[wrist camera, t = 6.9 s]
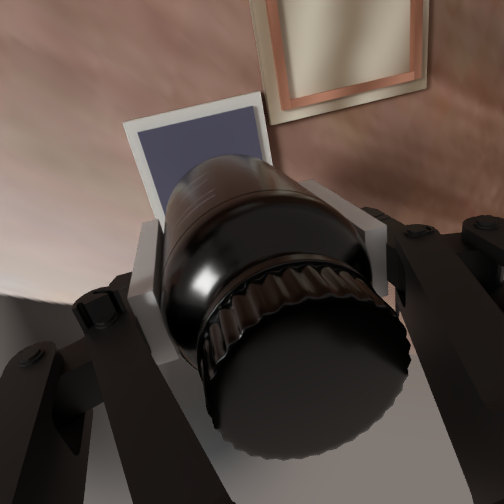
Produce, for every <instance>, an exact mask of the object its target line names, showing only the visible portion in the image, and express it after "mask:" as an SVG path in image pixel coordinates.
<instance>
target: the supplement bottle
mask: <svg viewBox="0 0 504 504" xmlns="http://www.w3.org/2000/svg"><path fill="white" fill-rule="evenodd" d="M160 298H161V311H162V318H163V322H164V326H165V329H166V331H167V334H168V336H169V338H170V340H171V342H172V344H173V345H174V347H175V348H176V350H177V351H178V353H179V354H180V355H181V356H182V357H183V359H184V360H185V361H186V362H187V363H188V364H190V365H191V366H192V367H193V368H194V369H195V370H197V371H198V372H199V374H200V377H201V380H202V382H203V386H204V394H205V403H206V409H207V412H208V414H209V415H210V417H211V418H212V423H213V426H214V428H215V429H216V430H217V431H219V432H220V433H221V435H222V437H223V440H224V441H226V442H229V443H232V444H233V446H234V448H235V449H236V450H239V451H245V452H246V453H247V454H248V455H250V456H260V457H262V458H264V459H266V460H268V459H279V460H289V459H292V458H296V459H303V458H306V457H308V456H312V455H320V454H322V453H324V452H326V451H328V450H333V449H337V448H338V447H340V446H341V445H343V444H344V443H347V442H350V441H353V440H354V439H355V438H356V437H357V436H358V435H359V434H361V433H363V432H365V431H367V430H368V429H369V428H370V427H371V426H372V425H373V423H375V422H376V421H378V420H380V419H381V418H382V417H383V415H384V413H385V411H386V410H388V409H389V408H390V407H391V406H392V405H393V404H394V401H395V398H396V397H397V396H398V395H399V393H400V392H401V391H402V387H403V383H404V381H405V380H406V378H407V377H408V369H407V368H408V366H409V364H410V362H411V358H410V355H409V350H410V346H411V344H410V342H409V341H408V339H407V338H406V335H407V330H406V328H405V327H404V325H403V324H402V323H401V322H400V321H399V317H398V315H397V313H396V312H395V311H394V310H393V309H392V308H391V307H390V306H389V305H388V304H387V303H386V302H385V301H384V300H383V299H382V298H381V297H380V296H379V295H378V294H377V293H376V291H375V290H374V288H373V273H372V266H371V261H370V257H369V253H368V251H367V248H366V245H365V243H364V241H363V240H362V238H361V236H360V234H359V233H358V231H357V230H356V228H355V227H354V226H353V225H352V224H351V223H350V221H349V220H348V219H346V218H345V217H344V216H343V215H342V214H341V213H340V212H339V211H337V210H336V209H335V208H334V207H332V206H331V205H329V204H328V203H326V202H325V201H324V200H322V199H321V198H319V197H318V196H316V195H315V194H313V193H312V192H310V191H309V190H307V189H306V188H305V187H303V186H302V185H300V184H299V183H297V182H296V181H294V180H293V179H291V178H290V177H288V176H287V175H285V174H284V173H282V172H281V171H280V170H278V169H277V168H275V167H274V166H272V165H270V164H269V163H267V162H265V161H263V160H261V159H258V158H255V157H252V156H248V155H243V154H225V155H219V156H215V157H212V158H209V159H207V160H204V161H202V162H201V163H199V164H197V165H196V166H194V167H193V168H191V169H190V170H189V171H188V172H187V173H186V174H185V175H184V176H183V177H182V178H181V179H180V180H179V182H178V183H177V184H176V186H175V188H174V189H173V191H172V194H171V196H170V198H169V201H168V204H167V209H166V215H165V225H164V241H163V256H162V272H161V295H160Z"/></svg>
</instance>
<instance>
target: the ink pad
mask: <svg viewBox="0 0 504 504" xmlns="http://www.w3.org/2000/svg"><path fill="white" fill-rule="evenodd" d="M123 126H124V129H125V132H126V135H127V138H128V141H129V144H130V146H131V149H132V152H133V155H134V158H135V161H136V164H137V167H138V169H139V172H140V175H141V178H142V181H143V184H144V187H145V190H146V193H147V195H148V198H149V201H150V204H151V207H152V210H153V213H154V216H155V218H156V219H159V221H160V224H161V227H162V230H163V233H164V225H165V215H166V209H167V204H168V201H169V198H170V196H171V194H172V191H173V189H174V188H175V186H176V184H177V183H178V182H179V180H180V179H181V178H182V177H183V176H184V175H185V174H186V173H187V172H188V171H189V170H190V169H191V168H193V167H194V166H196V165H197V164H199V163H201V162H202V161H204V160H207V159H209V158H212V157H215V156H219V155H225V154H243V155H248V156H252V157H255V158H258V159H261V160H263V161H265V162H267V163H269V164H270V165H272V166H273V164H272V158H271V152H270V146H269V140H268V134H267V128H266V122H265V116H264V110H263V105H262V99H261V93H260V91H257V92H252V93H248V94H243V95H239V96H235V97H230V98H226V99H221V100H217V101H213V102H208V103H204V104H199V105H195V106H191V107H186V108H182V109H177V110H173V111H169V112H164V113H160V114H155V115H151V116H147V117H142V118H138V119H133V120H129V121H125V122H123Z"/></svg>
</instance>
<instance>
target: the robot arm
mask: <svg viewBox="0 0 504 504" xmlns="http://www.w3.org/2000/svg"><path fill="white" fill-rule="evenodd" d="M298 183H299V184H300V185H302V186H303V187H305V188H306V189H307V190H309V191H310V192H312V193H313V194H315V195H316V196H318V197H319V198H321V199H322V200H324V201H325V202H326V203H328V204H329V205H331V206H332V207H334V208H335V209H336V210H337V211H339V212H340V213H341V214H342V215H343V216H344V217H345V218H346V219H348V220H349V221H350V223H351V224H352V225H353V226H354V227H355V228H356V230H357V231H358V233H359V234H360V236H361V238H362V240H363V241H364V243H365V245H366V248H367V251H368V253H369V257H370V261H371V266H372V273H373V288H374V290H375V291H376V293H377V294H378V295H379V296H380V297H384V296H387V295H388V281H389V282H390V283H391V284H393V285H394V286H395V302H396V313H397V315H398V316H399V312H400V311H401V314H402V317H403V319H404V322H405V324H406V327H407V329H408V332H409V335H410V337H411V340H412V342H413V345H414V347H415V350H416V353H417V355H418V357H419V360H420V363H421V365H422V368H423V370H424V373H425V376H426V378H427V381H428V383H429V386H430V389H431V391H432V394H433V396H434V399H435V401H436V404H437V407H438V409H439V412H440V414H441V417H442V419H443V422H444V424H445V427H446V430H447V432H448V435H449V437H450V440H451V442H452V445H453V448H454V450H455V453H456V455H457V458H458V460H459V463H460V466H461V468H462V471H463V473H464V476H465V478H466V481H467V484H468V486H469V489H470V492H471V495H472V498H473V502H474V504H504V280H503V279H504V219H503V218H499V217H493V216H491V215H486V216H485V215H480V216H477V217H471V218H468V219H466V220H465V221H464V222H463V225H462V233H453V234H444V235H441V234H440V233H439V231H438V230H437V229H435V228H434V227H431V226H428V225H421V224H412V225H406V226H405V225H404V224H402V223H400V222H398V221H397V220H395V219H393V218H391V217H390V216H388V215H385V214H384V213H383V212H381V211H379V210H377V209H373V208H369V207H364V208H358V207H356V206H355V205H353V204H352V203H350V202H348V201H347V200H345V199H344V198H342V197H340V196H339V195H337V194H336V193H334V192H332V191H331V190H329V189H327V188H326V187H324V186H323V185H321V184H319V183H318V182H316V181H315V180H313V179H310V180H306V181H302V182H298ZM163 241H164V233H163V230H162V227H161V224H160V221H159V219H156V220H152V221H148V222H144V223H142V227H141V232H140V237H139V242H138V247H137V252H136V257H135V262H134V267H133V272H129V273H126V274H122V275H118V276H116V278H115V279H114V280H113V281H112V282H111V283H110V284H109V286H108V287H102V288H98V289H95V290H92V291H90V292H88V293H86V294H84V295H83V296H82V297H80V298H79V299H78V300H76V302H75V303H74V304H73V306H72V311H73V313H74V315H75V316H76V318H77V320H78V322H79V324H80V326H81V328H82V330H83V331H84V334H85V337H83V338H82V339H80V340H78V341H76V342H74V343H72V344H70V345H68V346H66V347H64V348H62V349H60V350H59V349H58V347H57V346H56V344H55V343H53V342H52V341H43V342H39V343H36V344H33V345H31V346H28V347H26V348H24V350H23V349H22V350H21V351H19V352H18V353H17V354H16V355H15V356H14V357H13V358H12V359H11V360H10V361H9V362H8V364H7V365H6V367H5V369H4V371H3V374H2V376H1V378H0V504H83V501H84V492H85V483H86V472H87V463H88V455H89V446H90V437H91V428H92V419H93V407H95V406H97V405H99V404H100V403H102V402H104V404H105V407H106V411H107V414H108V418H109V421H110V425H111V428H112V432H113V435H114V439H115V442H116V446H117V449H118V452H119V456H120V459H121V463H122V466H123V470H124V474H125V477H126V480H127V483H128V487H129V491H130V494H131V498H132V501H133V504H236V503H235V502H233V501H232V500H231V498H230V497H229V495H228V493H227V491H226V490H225V488H224V486H223V484H222V482H221V481H220V479H219V477H218V475H217V473H216V471H215V470H214V468H213V466H212V464H211V462H210V460H209V459H208V457H207V455H206V453H205V452H204V450H203V448H202V446H201V444H200V443H199V441H198V439H197V437H196V435H195V433H194V431H193V430H192V428H191V426H190V424H189V422H188V421H187V419H186V417H185V415H184V413H183V412H182V410H181V408H180V406H179V404H178V402H177V401H176V399H175V397H174V395H173V393H172V391H171V390H170V388H169V386H168V384H167V382H166V381H165V379H164V377H163V375H162V373H161V372H160V370H159V368H158V366H157V365H159V364H163V363H166V362H170V361H173V360H176V359H179V353H178V351H177V350H176V348H175V347H174V345H173V344H172V342H171V340H170V338H169V336H168V334H167V331H166V329H165V326H164V322H163V318H162V311H161V298H160V295H161V272H162V256H163ZM151 354H152V355H151Z"/></svg>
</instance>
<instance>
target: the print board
mask: <svg viewBox="0 0 504 504" xmlns="http://www.w3.org/2000/svg"><path fill="white" fill-rule="evenodd" d="M249 4H250V10H251V16H252V22H253V29H254V35H255V41H256V47H257V53H258V59H259V65H260V71H261V77H262V83H263V90H264V96H265V102H266V108H267V114H268V120H269V125H276V124H280V123H284V122H288V121H292V120H297V119H301V118H305V117H309V116H313V115H318V114H322V113H326V112H330V111H334V110H338V109H343V108H347V107H351V106H355V105H359V104H363V103H368V102H372V101H376V100H380V99H384V98H389V97H393V96H397V95H401V94H405V93H409V92H414V91H418V90H422V89H426V83H427V52H428V20H429V0H249Z"/></svg>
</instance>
